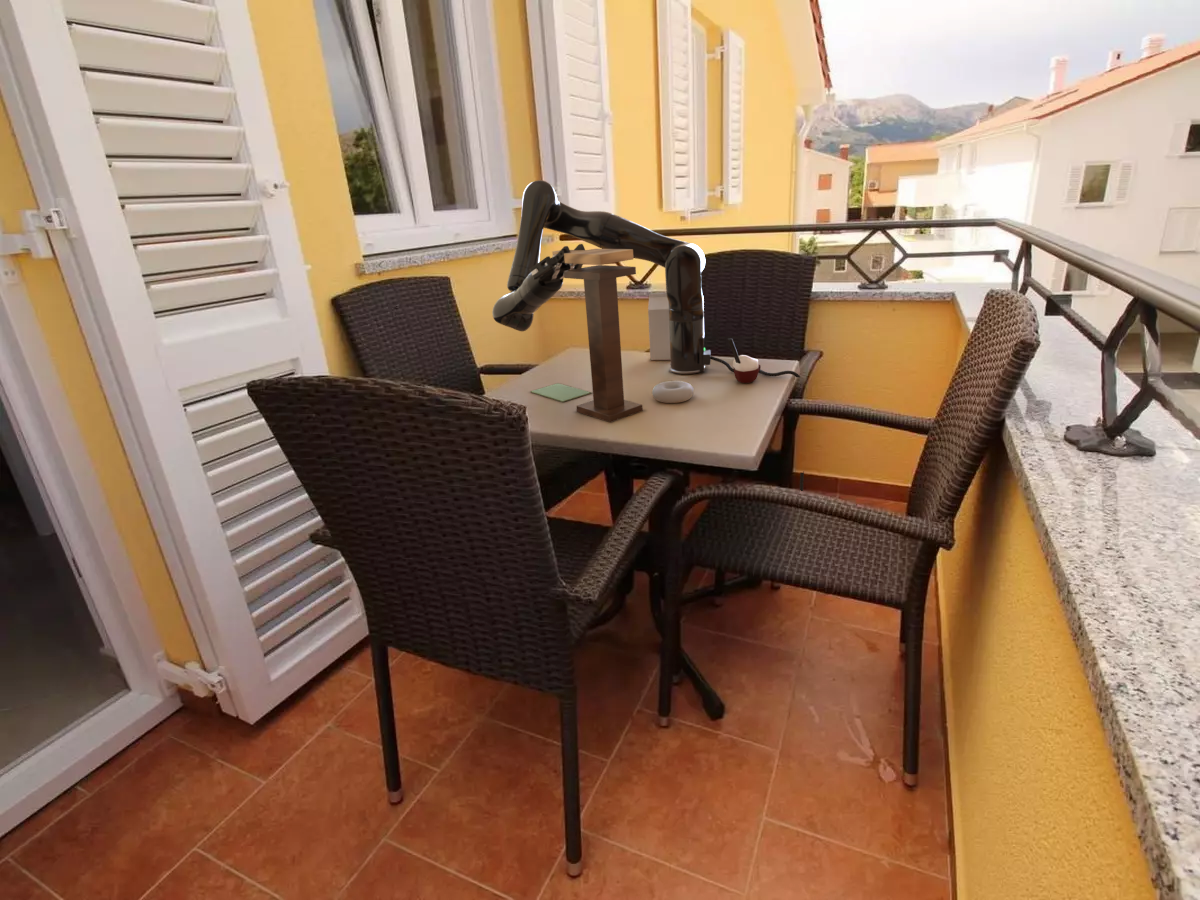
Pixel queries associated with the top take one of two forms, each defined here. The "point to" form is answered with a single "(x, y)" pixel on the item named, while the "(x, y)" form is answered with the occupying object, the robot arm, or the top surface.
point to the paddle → (597, 256)
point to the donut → (672, 391)
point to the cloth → (560, 392)
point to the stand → (604, 342)
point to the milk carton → (659, 326)
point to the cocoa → (744, 366)
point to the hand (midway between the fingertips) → (575, 248)
